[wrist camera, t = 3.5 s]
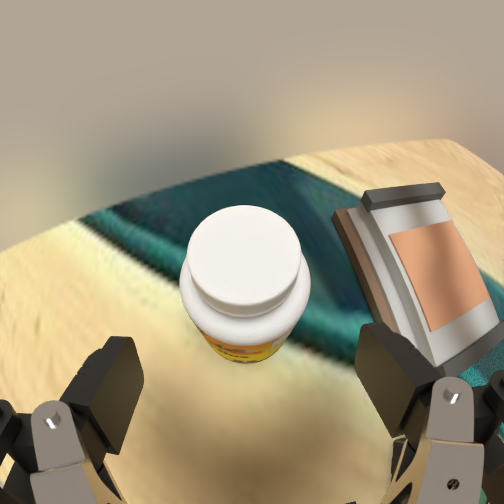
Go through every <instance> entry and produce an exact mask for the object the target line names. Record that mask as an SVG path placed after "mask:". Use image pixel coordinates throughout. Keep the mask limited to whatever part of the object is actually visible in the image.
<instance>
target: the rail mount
mask: <svg viewBox="0 0 504 504" xmlns="http://www.w3.org/2000/svg"><path fill="white" fill-rule="evenodd" d="M445 193H446V192H445V190H444V189H443V187H442V186H441V185H440V183H439V182H437V183H427V184H417V185H407V186H398V187H390V188H381V189H373V190H366V191H365V192H364V194H363V196H362V198H361V200H360V203H359V205H358V206H357V207H350V208H344V209H338V210H335V212H334V214H333V217H332V221H333V223H334V225H335V227H336V229H337V231H338V234H339V236H340V238H341V240H342V242H343V245H344V247H345V249H346V251H347V254H348V256H349V258H350V261H351V263H352V265H353V268H354V270H355V273H356V275H357V277H358V280H359V282H360V285H361V287H362V290H363V292H364V295H365V298H366V300H367V303H368V305H369V308H370V311H371V313H372V316H373V319H374V322H381V321H382V322H384V323H385V324H386V325H387V326H388V327H389V328H390V329H391V330H392V331H393V332H394V333H395V332H397V333H399V334H400V335H402V336H404V337H406V338H408V339H409V340H410V342H411V343H412V344H413V345H414V346H415V348H417V349H418V350H419V351H420V352H421V355H424V357H425V358H426V359H427V360H428V361H429V362H430V363H431V364H432V365H433V366H434V367H435V369H436V370H437V371H438V372H439V373H440V374H441V375H442V376H443V378H444V377H457V376H458V375H459V374H461V373H462V372H464V371H465V370H466V369H468V368H469V367H470V366H472V365H473V364H474V363H476V362H477V361H478V360H479V359H481V358H482V357H483V356H484V355H486V354H487V353H488V352H489V351H490V350H492V349H493V348H494V347H495V346H496V345H497V344H499V343H500V342H501V341H502V340H503V339H504V320H503V321H501V322H499V319H498V317H497V314H496V311H495V308H494V306H493V303H492V300H491V298H490V295H489V293H488V290H487V288H486V286H485V283H484V281H483V279H482V276H481V274H480V272H479V270H478V268H477V265H476V263H475V261H474V259H473V257H472V255H471V253H470V251H469V249H468V247H467V245H466V244H465V242H464V240H463V238H462V236H461V234H460V232H459V231H458V229H457V227H456V225H455V224H454V222H453V220H452V219H451V217H450V215H449V214H448V212H447V210H446V209H445V207H444V205H443V204H442V202H441V201H440V200H441V198H442V197H443V196H444V194H445Z"/></svg>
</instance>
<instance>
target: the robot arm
mask: <svg viewBox="0 0 504 504" xmlns="http://www.w3.org/2000/svg"><path fill="white" fill-rule="evenodd" d="M355 370H356V373H357V376H358V377H359V379H360V381H361V383H362V385H363V386H364V388H365V390H366V392H367V393H368V395H369V397H370V399H371V401H372V402H373V404H374V406H375V408H376V410H377V411H378V413H379V415H380V417H381V419H382V421H383V422H384V424H385V426H386V428H387V430H388V432H389V434H390V435H391V437H392V438H395V437H397V436H400V435H403V434H405V436H406V438H407V439H406V441H405V443H404V445H403V449H402V452H401V456H400V459H399V462H398V465H397V468H396V471H395V474H394V477H393V480H392V482H391V485H390V487H389V489H388V491H387V493H386V495H385V496H384V498H383V500H382V501H381V503H380V504H479V499H480V492H481V487H482V489H483V491H484V493H485V495H486V497H487V499H488V501H489V503H490V504H504V443H503V442H502V440H501V439H500V437H499V436H498V435H497V433H496V430H497V429H498V428H499V426H500V425H501V423H502V422H503V423H504V370H499V371H496V372H494V373H493V374H492V376H491V378H490V380H489V382H488V384H487V385H484V386H477V387H470V385H469V384H468V383H467V382H465V381H464V380H462V379H459V378H456V377H444V378H443V376H442V375H441V374H440V373H439V372H438V371H437V370H436V369H435V367H434V366H433V365H432V364H431V363H430V362H429V361H428V360H427V359H426V358H425V357H424V355H421V352H420V351H419V350H418V349H417V348H415V346H414V345H413V344H412V343H411V342H410V340H409V339H408V338H406V337H404V336H402V335H400V334H399V333H397V332H395V333H394V332H393V331H392V330H391V329H390V328H389V327H388V326H387V325H386V324H385V323H384V322H382V321H381V322H375V323H369V324H363V325H362V327H361V329H360V335H359V341H358V346H357V352H356V357H355ZM143 384H144V375H143V370H142V367H141V363H140V360H139V357H138V354H137V350H136V347H135V343H134V341H133V339H132V338H131V337H122V336H111V337H110V338H109V339H108V340H107V342H106V343H105V345H104V346H103V348H102V349H98V350H96V351H95V352H94V353H92V354H91V355H89V356H88V358H87V359H86V361H85V362H84V364H83V365H82V367H81V368H80V369H79V371H78V372H77V375H75V377H74V378H73V380H72V381H71V383H70V384H69V386H68V387H67V389H66V390H65V392H64V393H63V395H62V396H61V398H60V400H59V401H47V402H44V403H42V404H41V405H39V406H38V407H37V408H36V409H35V410H34V412H33V413H32V414H25V413H16V412H15V410H14V409H13V407H12V405H11V404H10V403H9V402H8V401H6V400H1V399H0V466H1V464H2V462H3V460H4V458H5V456H6V454H7V453H8V454H9V455H10V457H11V458H12V459H13V460H14V461H15V462H14V464H13V466H12V468H11V471H10V473H9V475H8V477H7V480H6V482H5V485H4V487H3V489H2V488H1V487H0V504H127V502H126V500H125V499H124V497H123V495H122V493H121V491H120V489H119V488H118V486H117V484H116V482H115V480H114V478H113V476H112V474H111V472H110V470H109V468H108V466H107V464H106V462H105V460H104V458H105V455H106V453H111V454H115V455H119V453H120V450H121V447H122V444H123V441H124V438H125V435H126V432H127V430H128V427H129V424H130V421H131V418H132V415H133V413H134V410H135V407H136V404H137V402H138V399H139V396H140V394H141V391H142V388H143ZM346 504H356V501H354V502H350V503H346Z"/></svg>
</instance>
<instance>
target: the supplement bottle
mask: <svg viewBox="0 0 504 504" xmlns="http://www.w3.org/2000/svg"><path fill="white" fill-rule="evenodd" d="M180 293H181V298H182V302H183V304H184V307H185V309H186V311H187V313H188V314H189V316H190V318H191V320H192V321H193V322H194V324H195V325H196V326H197V328H198V329H199V331H200V332H201V333H202V335H203V336H204V337H205V339H206V340H207V341H208V343H209V344H210V345H211V347H212V348H213V349H214V350H215V351H216V352H217V353H218V354H219V355H221V356H222V357H224V358H226V359H228V360H230V361H233V362H237V363H255V362H259V361H262V360H264V359H266V358H268V357H270V356H271V355H273V354H274V353H275V352H276V351H277V350H278V349H279V348H280V347H281V346H282V344H283V342H284V341H285V340H286V338H287V337H288V335H289V334H290V332H291V331H292V329H293V328H294V326H295V325H296V323H297V322H298V320H299V319H300V317H301V315H302V314H303V312H304V310H305V307H306V305H307V302H308V299H309V294H310V273H309V269H308V265H307V263H306V260H305V258H304V256H303V254H302V253H301V247H300V243H299V240H298V237H297V236H296V234H295V232H294V230H293V229H292V228H291V226H290V225H289V224H288V223H287V222H286V221H285V220H284V219H283V218H281V217H280V216H278V215H277V214H275V213H273V212H272V211H269V210H267V209H264V208H260V207H256V206H233V207H228V208H225V209H222V210H220V211H217V212H215V213H213V214H212V215H210V216H209V217H207V218H206V219H205V220H204V221H203V222H201V224H200V225H199V226H198V227H197V228H196V230H195V231H194V233H193V235H192V237H191V239H190V242H189V245H188V250H187V256H186V258H185V261H184V263H183V266H182V270H181V274H180Z"/></svg>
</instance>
